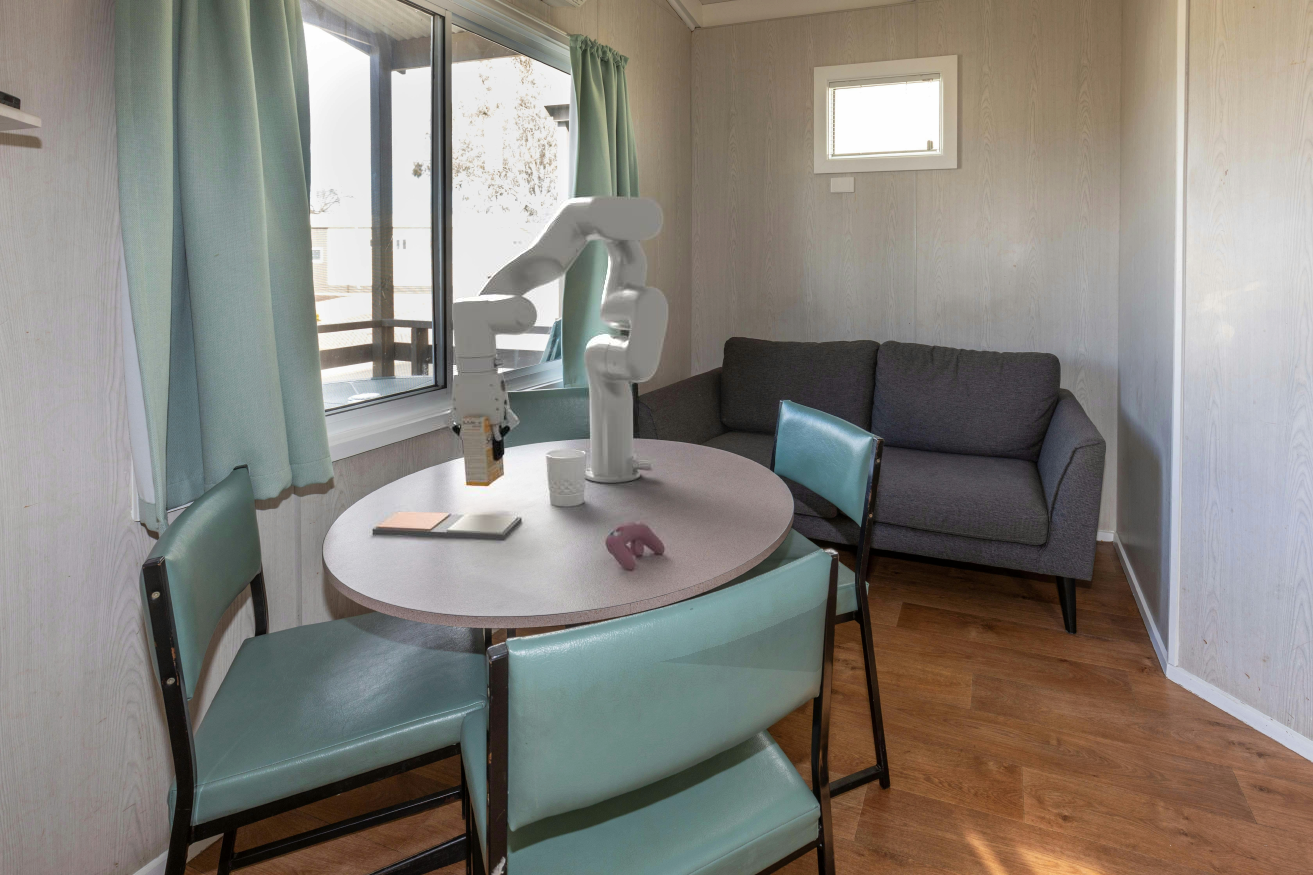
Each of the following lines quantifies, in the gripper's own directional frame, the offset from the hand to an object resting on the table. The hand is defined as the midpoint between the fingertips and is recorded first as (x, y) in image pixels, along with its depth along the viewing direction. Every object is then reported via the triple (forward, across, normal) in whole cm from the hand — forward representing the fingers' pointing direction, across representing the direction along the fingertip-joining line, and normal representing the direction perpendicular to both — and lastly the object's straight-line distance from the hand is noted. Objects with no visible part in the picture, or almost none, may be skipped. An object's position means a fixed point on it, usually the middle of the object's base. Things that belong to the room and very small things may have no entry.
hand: (484, 458), depth 154 cm
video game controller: (+10, -33, +24) cm, 42 cm away
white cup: (+11, -14, -6) cm, 19 cm away
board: (+10, +3, +13) cm, 16 cm away
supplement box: (+5, 0, 0) cm, 5 cm away
